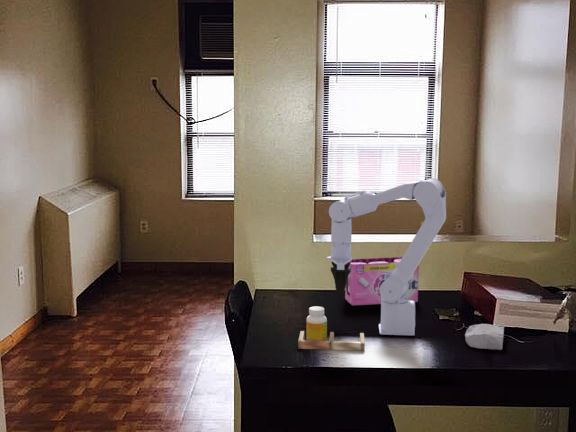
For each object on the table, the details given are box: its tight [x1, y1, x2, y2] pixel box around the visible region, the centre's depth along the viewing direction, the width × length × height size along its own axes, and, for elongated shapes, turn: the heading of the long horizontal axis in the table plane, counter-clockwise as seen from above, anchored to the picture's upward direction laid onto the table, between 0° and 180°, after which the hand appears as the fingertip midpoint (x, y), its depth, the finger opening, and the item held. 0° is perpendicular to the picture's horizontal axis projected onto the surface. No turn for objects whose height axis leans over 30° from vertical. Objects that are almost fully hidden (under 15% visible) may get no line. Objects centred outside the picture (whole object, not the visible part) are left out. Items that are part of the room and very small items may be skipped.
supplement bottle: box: [305, 305, 328, 341], centre depth 167 cm, size 5×5×10 cm
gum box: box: [344, 256, 420, 306], centre depth 207 cm, size 24×8×14 cm, turn 102°
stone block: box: [464, 323, 505, 351], centre depth 170 cm, size 12×5×10 cm
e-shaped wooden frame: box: [297, 330, 366, 352], centre depth 167 cm, size 17×8×2 cm, turn 85°
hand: (340, 288), depth 183 cm, fingers open, 7 cm apart
